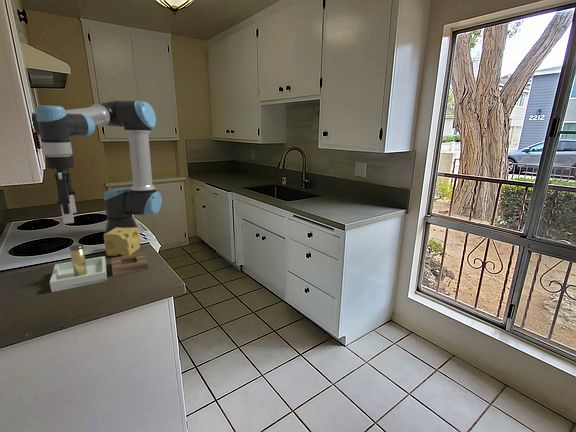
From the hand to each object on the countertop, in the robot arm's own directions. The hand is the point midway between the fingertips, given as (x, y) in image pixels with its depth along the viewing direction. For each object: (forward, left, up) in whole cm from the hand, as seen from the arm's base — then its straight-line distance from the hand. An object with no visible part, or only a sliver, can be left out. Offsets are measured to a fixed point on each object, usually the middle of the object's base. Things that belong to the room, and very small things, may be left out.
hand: (70, 217), depth 106 cm
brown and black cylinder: (0, 0, -22) cm, 22 cm away
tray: (0, 0, -23) cm, 23 cm away
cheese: (-19, +15, -23) cm, 33 cm away
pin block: (-1, +16, -23) cm, 28 cm away
